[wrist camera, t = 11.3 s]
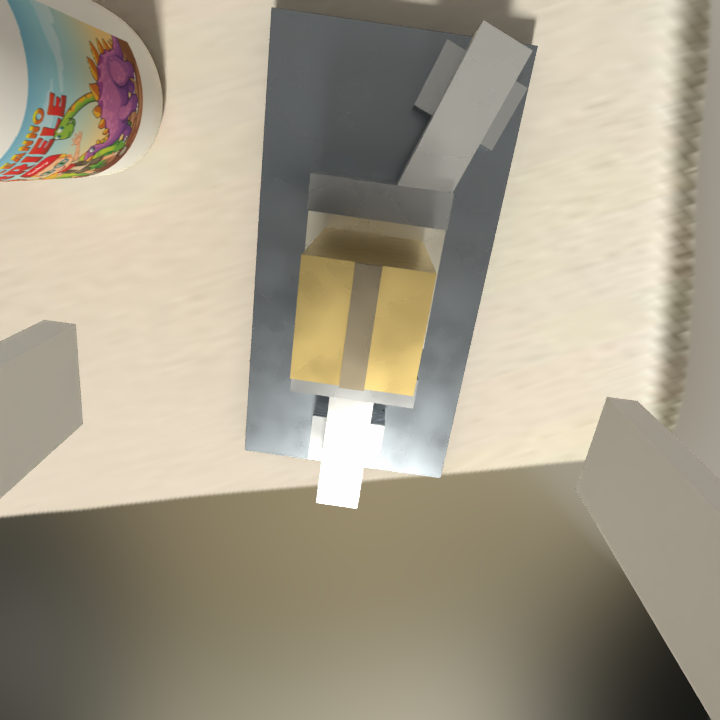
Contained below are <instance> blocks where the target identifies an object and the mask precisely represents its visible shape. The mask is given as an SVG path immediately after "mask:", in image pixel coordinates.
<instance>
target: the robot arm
mask: <svg viewBox="0 0 720 720" xmlns="http://www.w3.org/2000/svg"><path fill="white" fill-rule="evenodd" d="M82 424H83V420H82V405H81V391H80V377H79V363H78V349H77V335H76V324H69V323H62V322H55V321H48V320H43V321H41V322H39V323H37V324H35V325H33V326H31V327H29V328H27V329H25V330H23V331H21V332H19V333H17V334H15V335H12V336H10V337H8V338H6V339H4V340H2V341H0V498H1V497H2V496H4V495H5V494H6V493H7V492H8V491H9V490H10V489H11V488H12V487H14V486H15V485H16V484H17V483H18V482H19V481H20V480H21V479H22V478H24V477H25V476H26V475H27V474H28V473H29V472H30V471H31V470H32V469H33V468H35V467H36V466H37V465H38V464H39V463H40V462H41V461H42V460H43V459H45V458H46V457H47V456H48V455H49V454H50V453H51V452H52V451H53V450H55V449H56V448H57V447H58V446H59V445H60V444H61V443H62V442H63V441H64V440H66V439H67V438H68V437H69V436H70V435H71V434H72V433H73V432H74V431H76V430H77V429H78V428H79V427H80V426H81V425H82ZM576 491H577V493H578V495H579V497H580V498H581V500H582V502H583V503H584V505H585V507H586V508H587V510H588V512H589V513H590V515H591V517H592V519H593V520H594V522H595V524H596V525H597V527H598V529H599V530H600V532H601V534H602V535H603V537H604V539H605V541H606V542H607V544H608V546H609V547H610V549H611V551H612V552H613V554H614V556H615V557H616V559H617V561H618V562H619V564H620V566H621V568H622V569H623V571H624V573H625V574H626V576H627V578H628V579H629V581H630V583H631V584H632V586H633V588H634V590H635V591H636V593H637V595H638V596H639V598H640V600H641V601H642V603H643V605H644V606H645V608H646V610H647V612H648V613H649V615H650V617H651V618H652V620H653V622H654V623H655V625H656V627H657V628H658V630H659V632H660V633H661V635H662V637H663V638H664V640H665V642H666V644H667V645H668V647H669V649H670V650H671V652H672V654H673V655H674V657H675V659H676V661H677V662H678V664H679V666H680V667H681V669H682V671H683V672H684V674H685V676H686V677H687V679H688V681H689V683H690V684H691V686H692V688H693V689H694V691H695V693H696V694H697V696H698V698H699V699H700V701H701V703H702V704H703V706H704V708H705V710H706V711H707V713H708V715H709V716H710V718H711V719H712V720H720V479H719V478H718V477H717V476H716V475H715V474H714V473H713V472H712V471H711V470H710V469H709V468H708V467H707V466H706V465H705V464H703V462H701V461H700V460H699V459H698V458H697V457H696V456H695V455H694V454H693V453H692V452H691V451H690V450H689V449H688V448H687V447H685V446H684V445H683V444H682V443H681V442H680V441H679V440H678V439H677V438H676V437H675V436H674V435H673V434H672V433H671V432H670V431H669V430H668V429H666V428H665V427H664V426H663V425H662V424H661V423H660V422H659V421H658V420H657V419H656V418H655V417H654V416H653V415H652V414H651V413H649V412H648V411H647V410H646V409H645V408H644V407H643V406H642V405H641V404H640V403H639V402H638V401H633V400H625V399H618V398H611V397H607V399H606V402H605V404H604V407H603V410H602V413H601V416H600V419H599V422H598V425H597V428H596V431H595V434H594V437H593V440H592V442H591V445H590V448H589V451H588V454H587V457H586V460H585V463H584V466H583V469H582V472H581V475H580V478H579V481H578V483H577V486H576Z"/></svg>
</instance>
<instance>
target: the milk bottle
mask: <svg viewBox="0 0 720 720" xmlns="http://www.w3.org/2000/svg"><path fill="white" fill-rule="evenodd" d="M162 111H163V98H162V89H161V83H160V79H159V75H158V72H157V69H156V66H155V64H154V61H153V59H152V57H151V55H150V53H149V51H148V49H147V48H146V46H145V45H144V43H143V42H142V40H141V39H140V38H139V36H138V35H137V34H136V33H135V32H134V30H133V29H132V28H131V27H130V26H129V25H128V24H127V23H126V22H124V21H123V20H122V19H121V18H119V17H118V16H117V15H115V14H114V13H112V12H111V11H109V10H107V9H106V8H104V7H103V6H101V5H99V4H97V3H96V2H94V1H92V0H0V182H5V181H27V180H44V179H61V178H78V177H93V176H101V175H109V174H114V173H118V172H121V171H123V170H126V169H128V168H130V167H131V166H133V165H134V164H136V163H137V162H138V161H139V160H141V159H142V158H143V157H144V155H145V154H146V153H147V152H148V151H149V149H150V148H151V146H152V144H153V143H154V141H155V139H156V136H157V134H158V131H159V128H160V124H161V119H162Z"/></svg>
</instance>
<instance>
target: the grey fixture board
mask: <svg viewBox="0 0 720 720" xmlns="http://www.w3.org/2000/svg"><path fill="white" fill-rule="evenodd" d="M537 47H538V46H535V45H528V44H521V43H520V42H518V41H517V40H515V39H513V38H512V37H510V36H508V35H507V34H505V33H504V32H502V31H500V30H499V29H497V28H496V27H494V26H492V25H491V24H489V23H488V22H486V21H483V22H482V23H481V25H480V26H479V28H478V29H477V31H476V32H475V33H474V35H473V37H472V36H466V35H459V34H452V33H445V32H438V31H431V30H424V29H417V28H410V27H403V26H396V25H390V24H383V23H376V22H369V21H362V20H355V19H348V18H341V17H334V16H327V15H320V14H314V13H307V12H300V11H293V10H286V9H279V8H272V9H271V26H270V43H269V59H268V76H267V92H266V109H265V125H264V142H263V158H262V175H261V191H260V208H259V224H258V241H257V257H256V274H255V291H254V307H253V324H252V340H251V357H250V373H249V390H248V406H247V423H246V439H245V450H247V451H254V452H261V453H268V454H275V455H282V456H289V457H296V458H303V459H310V460H317V461H322V462H321V470H320V478H319V486H318V494H317V503H324V504H331V505H338V506H345V507H352V508H357V504H358V498H359V492H360V485H361V479H362V473H363V467H367V468H374V469H381V470H388V471H395V472H402V473H409V474H416V475H423V476H430V477H437V478H440V477H441V473H442V469H443V464H444V460H445V455H446V451H447V446H448V442H449V437H450V433H451V429H452V424H453V420H454V415H455V411H456V406H457V402H458V398H459V393H460V389H461V384H462V380H463V375H464V371H465V367H466V362H467V358H468V353H469V349H470V344H471V340H472V335H473V331H474V327H475V322H476V318H477V313H478V309H479V304H480V300H481V296H482V291H483V287H484V282H485V278H486V273H487V269H488V264H489V260H490V256H491V251H492V247H493V242H494V238H495V233H496V229H497V225H498V220H499V216H500V211H501V207H502V202H503V198H504V193H505V189H506V185H507V180H508V176H509V171H510V167H511V162H512V158H513V154H514V149H515V145H516V140H517V136H518V131H519V127H520V122H521V118H522V114H523V109H524V105H525V100H526V96H527V91H528V87H529V83H530V78H531V74H532V69H533V65H534V60H535V56H536V51H537ZM325 227H327V228H334V229H341V230H348V231H355V232H362V233H369V234H376V235H383V236H390V237H397V238H404V239H411V240H418V241H423V243H424V245H425V247H426V250H427V252H428V254H429V257H430V259H431V261H432V264H433V266H434V268H435V271H436V273H437V275H436V280H435V286H434V291H433V296H432V301H431V307H430V312H429V317H428V323H427V328H426V333H425V338H424V344H423V349H422V354H421V359H420V365H419V370H418V375H417V380H416V386H415V391H414V396H408V395H401V394H394V393H387V392H380V391H373V390H366V389H364V391H358V390H351V389H344V388H339V386H338V385H331V384H324V383H317V382H310V381H303V380H296V379H290V372H291V361H292V350H293V339H294V328H295V317H296V307H297V296H298V285H299V274H300V263H301V254H302V253H303V252H304V251H305V250H306V248H307V247H308V246H309V245H310V244H311V243H312V242H313V241H314V240H315V238H316V237H317V236H318V235H319V234H320V233H321V232H322V231H323V229H324V228H325Z"/></svg>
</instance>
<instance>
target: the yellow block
mask: <svg viewBox="0 0 720 720" xmlns="http://www.w3.org/2000/svg"><path fill="white" fill-rule="evenodd" d="M436 275H437V273H436V271H435V268H434V266H433V264H432V261H431V259H430V257H429V254H428V252H427V250H426V247H425V245H424V243H423V241H418V240H411V239H404V238H397V237H390V236H383V235H376V234H369V233H362V232H355V231H348V230H341V229H334V228H327V227H325V228H324V229H323V231H322V232H321V233H320V234H319V235H318V236H317V237H316V238H315V240H314V241H313V242H312V243H311V244H310V245H309V246H308V247H307V248H306V250H305V251H304V252H303V253H302V254H301V263H300V274H299V285H298V296H297V307H296V317H295V328H294V339H293V350H292V361H291V372H290V379H296V380H303V381H310V382H317V383H324V384H331V385H338V386H339V388H344V389H351V390H358V391H364V389H366V390H373V391H380V392H387V393H394V394H401V395H408V396H414V391H415V386H416V380H417V375H418V370H419V365H420V359H421V354H422V349H423V344H424V338H425V333H426V328H427V323H428V317H429V312H430V307H431V301H432V296H433V291H434V286H435V280H436Z"/></svg>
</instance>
